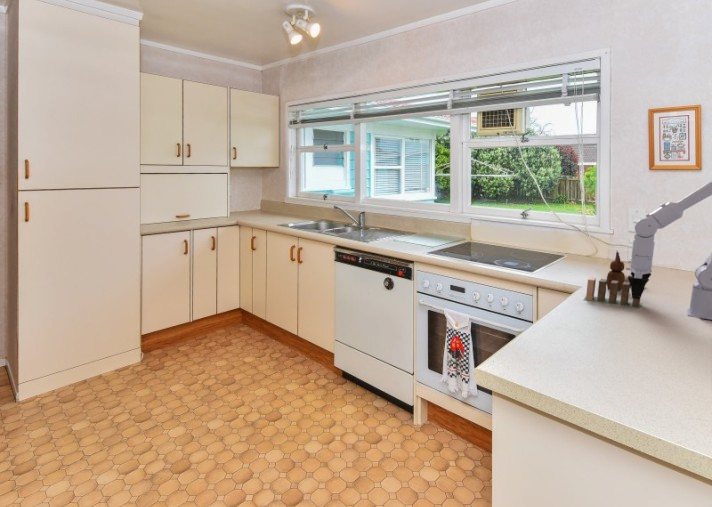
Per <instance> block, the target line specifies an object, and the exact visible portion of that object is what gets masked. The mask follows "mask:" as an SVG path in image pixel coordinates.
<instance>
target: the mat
mask: <svg viewBox="0 0 712 507" xmlns="http://www.w3.org/2000/svg"><path fill="white" fill-rule="evenodd" d="M583 301H586V302H593V303H598V304H604V305H609V306H610V305H611V306H616V307H617V306H618V307H622V308H630V309H636V310H641V308H642V306H643V303H641V302H640V305H639V307H632V302H633V301H628V304H627V306H625V305H620V301H621V299H616V302H615V304H613V303H608V302H609V297H608V298H606V297H605V300H604V301H603V302H600V301H597V296H595V295H594V298H593V299H592V300H587V299H586V296H585V297H584V299H583Z"/></svg>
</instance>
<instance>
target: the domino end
mask: <svg viewBox="0 0 712 507" xmlns="http://www.w3.org/2000/svg"><path fill="white" fill-rule="evenodd" d="M596 282H597V278H596V277H589V278H588V279H587V285H586V286H587V287H586V296H585V297H586V299H587V300H592V299H593V298H594V296H595V292H596Z"/></svg>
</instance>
